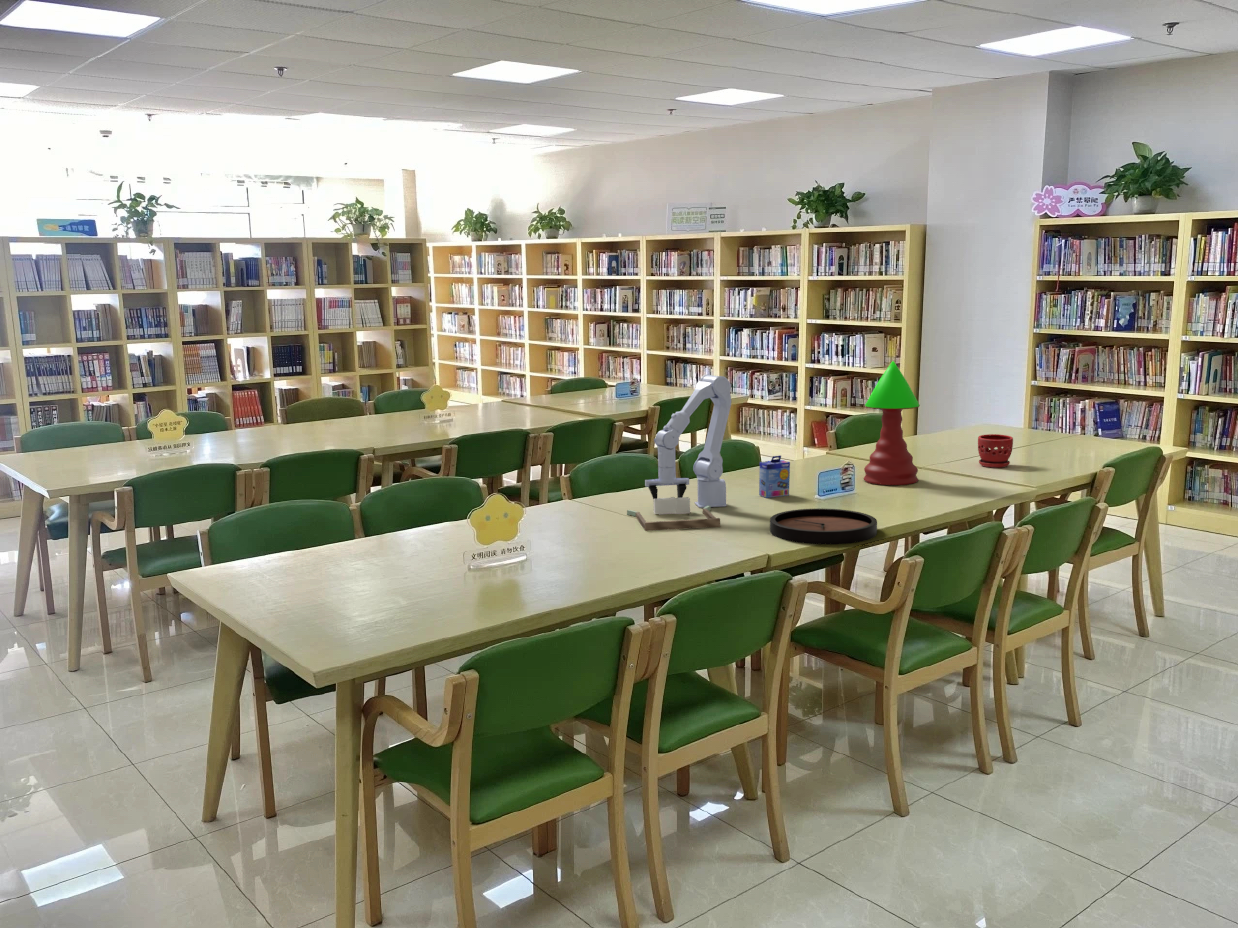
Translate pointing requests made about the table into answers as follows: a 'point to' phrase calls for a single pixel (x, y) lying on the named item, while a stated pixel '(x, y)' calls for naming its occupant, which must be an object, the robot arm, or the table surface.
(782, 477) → the ink cartridge box
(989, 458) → the plant pot
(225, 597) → the table surface
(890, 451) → the table lamp
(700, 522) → the napkin dock
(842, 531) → the wall clock
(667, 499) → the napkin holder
